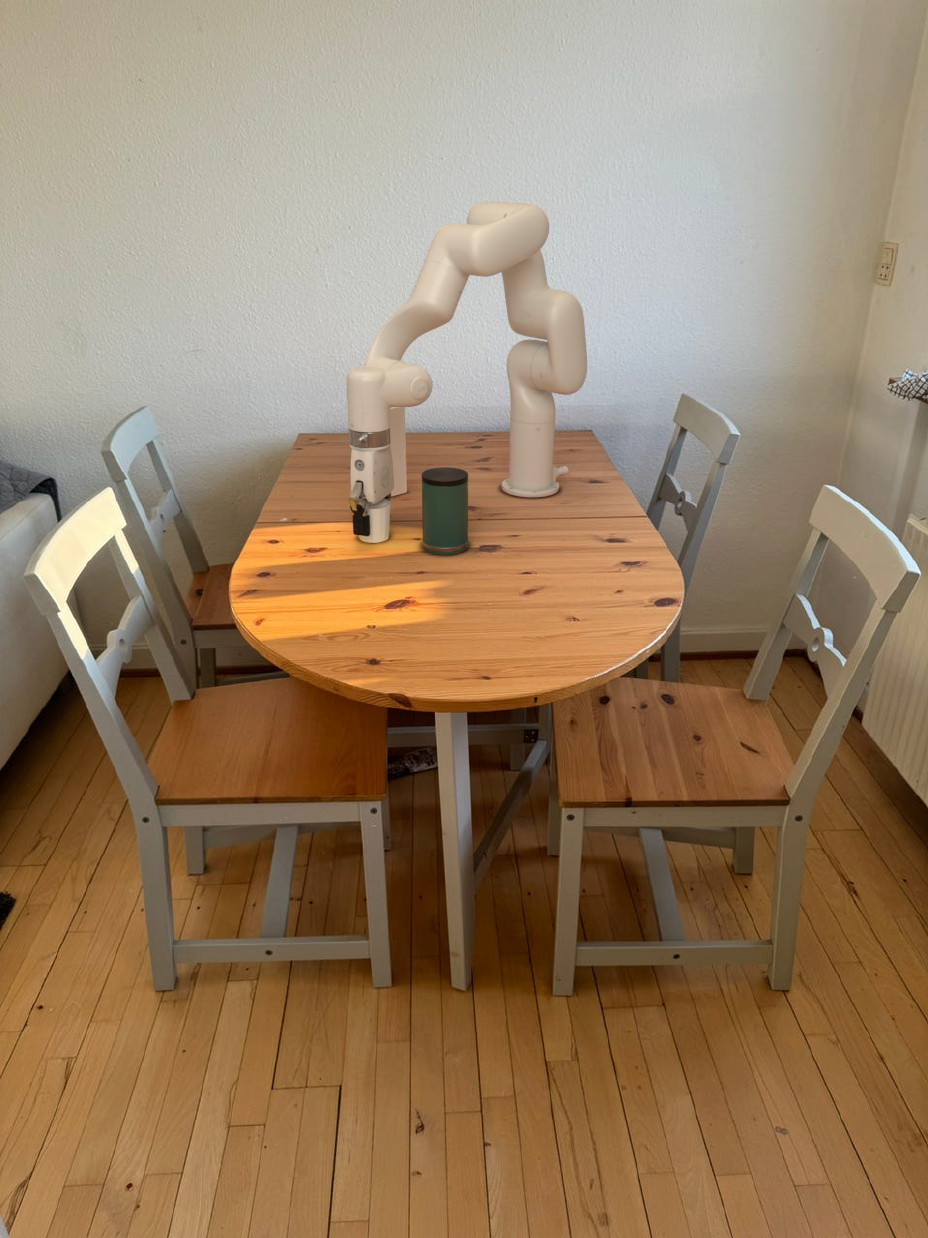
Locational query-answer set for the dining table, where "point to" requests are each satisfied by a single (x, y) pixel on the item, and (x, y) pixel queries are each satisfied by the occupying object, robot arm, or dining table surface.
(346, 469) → the dining table surface
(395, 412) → the milk
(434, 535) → the green can
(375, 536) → the shot glass
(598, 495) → the dining table surface
